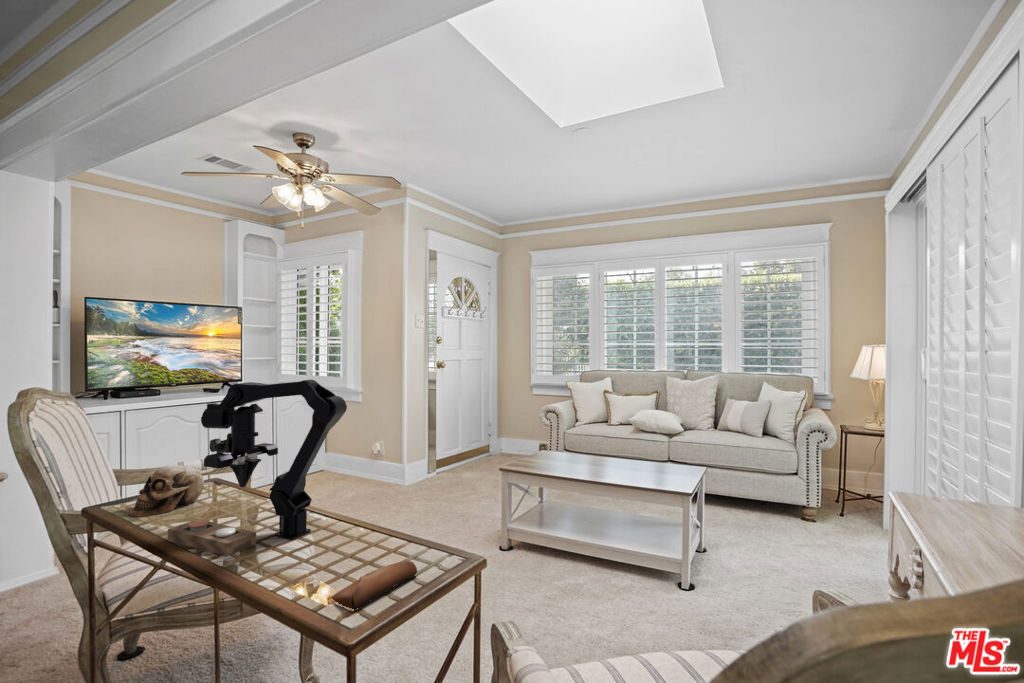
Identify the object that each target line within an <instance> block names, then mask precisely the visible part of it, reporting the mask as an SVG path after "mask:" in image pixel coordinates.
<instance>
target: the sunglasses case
mask: <svg viewBox="0 0 1024 683" xmlns="http://www.w3.org/2000/svg"><path fill="white" fill-rule="evenodd" d="M416 573H417V574H418V569H417V566H416V564H415V563H414V562H413V561H410V560H407V561H399V562H395V563H391V564H388V565H384V566H383V567H380V568H378V569H375V570H372V571H370V572H368V573H365V574H363V575H362V576H360V577H359V579H358V580H356V581H354V582H352V583H351V584H349V585H347V586H345V587H344V588H342V589H340V590H339V591H337V592H336V593H334V594H333V595H332V596H331V597H330V598H332V599H333V600H335V601H336V602H338V603H339V604H342V605H343V606H346V607H349V608H352V609H354V610H355V611H357V610H356V609H357V608H360V607H361V608H363V607H364V606H366V605H367V604H368V603H367V602H369V601H370V600H372V599H373V600H375V599H376V598H378V597H379V596H380V595H383V594H385V593H386V592H388V591H390V590H391V588H392V587H393V586H394V585H396V584H398V583H401V582H402V583H404V582H406V581H407V580H406V579H408V578H410V577H411V578H413V577H414V576H413V575H415V574H416ZM412 576H413V577H412ZM411 578H410V579H411ZM405 580H406V581H405ZM408 580H409V579H408ZM402 583H401V584H402ZM393 588H394V587H393ZM393 588H392V589H393ZM389 589H390V590H389ZM387 590H388V591H387ZM385 591H386V592H385ZM384 592H385V593H384ZM382 593H383V594H382ZM377 596H378V597H377ZM374 598H375V599H374ZM373 600H372V601H373ZM370 602H371V601H370ZM370 602H369V603H370ZM366 603H367V604H366ZM365 604H366V605H365ZM362 606H363V607H362ZM361 608H360V609H361Z"/></svg>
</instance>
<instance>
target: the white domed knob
mask: <svg viewBox="0 0 1024 683" xmlns="http://www.w3.org/2000/svg"><path fill="white" fill-rule="evenodd" d="M235 528H236V527H235ZM235 528H223V529H219V530H217V531H216V532H215V536H216V537H217V538H221V539H224V538H227V537H230V536H232V535H234V534H235Z"/></svg>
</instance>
